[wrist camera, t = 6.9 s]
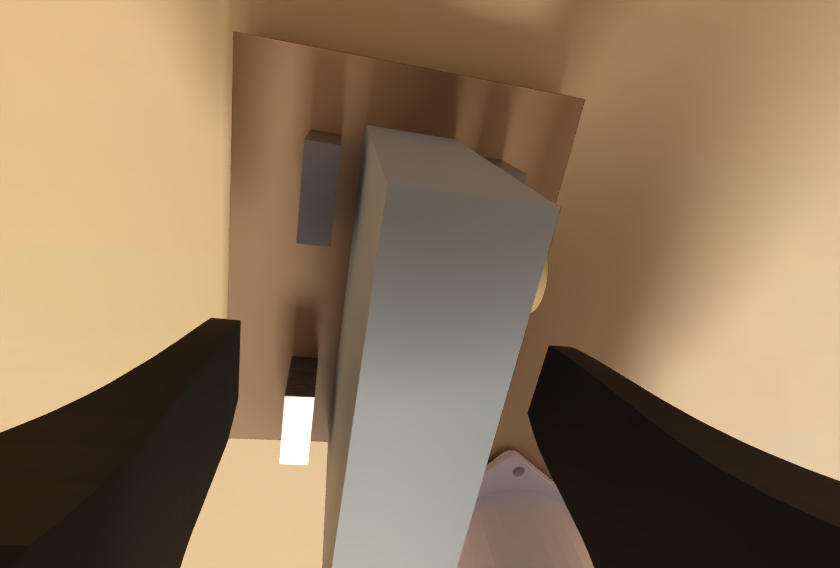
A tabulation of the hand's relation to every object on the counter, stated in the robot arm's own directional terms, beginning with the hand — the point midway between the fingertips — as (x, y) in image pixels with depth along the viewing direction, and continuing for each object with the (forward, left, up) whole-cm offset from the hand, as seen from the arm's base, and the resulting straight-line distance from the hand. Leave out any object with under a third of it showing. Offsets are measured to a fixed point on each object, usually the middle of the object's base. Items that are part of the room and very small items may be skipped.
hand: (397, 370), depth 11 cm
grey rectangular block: (0, 0, -4) cm, 4 cm away
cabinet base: (0, 0, -5) cm, 5 cm away
